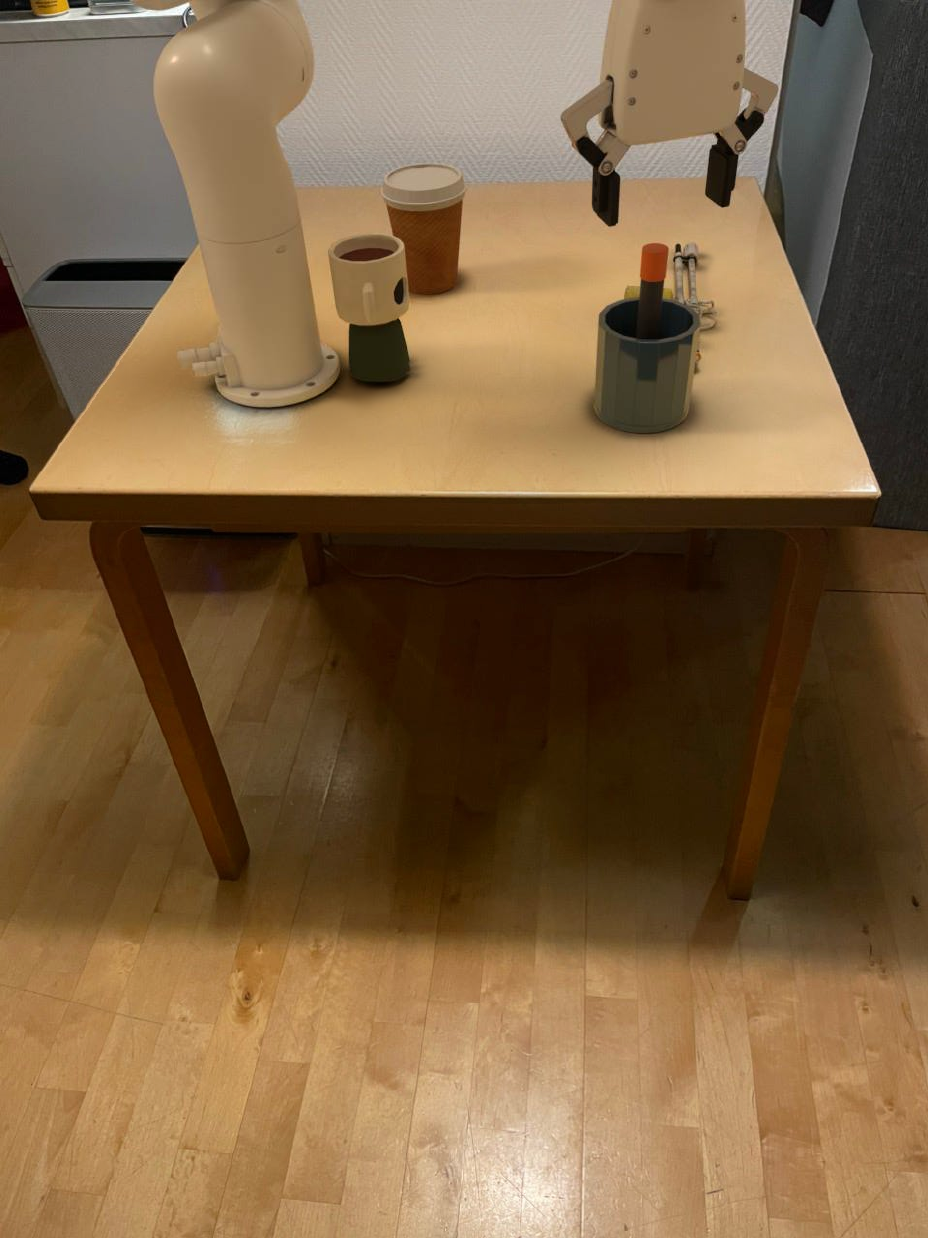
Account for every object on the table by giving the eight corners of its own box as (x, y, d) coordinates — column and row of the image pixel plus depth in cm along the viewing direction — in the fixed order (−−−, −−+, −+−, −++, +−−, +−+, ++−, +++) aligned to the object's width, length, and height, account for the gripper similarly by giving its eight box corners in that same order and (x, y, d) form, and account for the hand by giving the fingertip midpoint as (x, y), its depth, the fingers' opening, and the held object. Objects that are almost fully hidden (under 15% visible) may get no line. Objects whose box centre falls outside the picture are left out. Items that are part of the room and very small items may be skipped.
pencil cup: (614, 440, 88) (621, 349, 82) (580, 393, 94) (584, 305, 88) (704, 423, 89) (717, 332, 83) (664, 377, 96) (674, 290, 89)
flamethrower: (618, 368, 96) (721, 377, 95) (621, 343, 94) (726, 351, 93) (626, 253, 117) (710, 259, 116) (629, 231, 116) (714, 237, 115)
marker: (635, 408, 90) (648, 254, 80) (626, 397, 92) (637, 244, 82) (657, 404, 91) (673, 250, 81) (647, 392, 92) (662, 240, 82)
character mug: (416, 398, 95) (405, 269, 86) (343, 404, 95) (325, 274, 86) (414, 345, 103) (403, 221, 94) (347, 350, 103) (330, 226, 94)
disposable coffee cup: (483, 271, 115) (480, 165, 107) (449, 305, 109) (443, 196, 101) (412, 261, 118) (404, 157, 110) (375, 293, 112) (363, 186, 104)
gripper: (769, -62, 71) (737, 180, 83) (546, -34, 69) (546, 211, 80) (823, -46, 66) (781, 210, 78) (584, -15, 63) (578, 245, 75)
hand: (662, 210), depth 79 cm, fingers open, 9 cm apart
